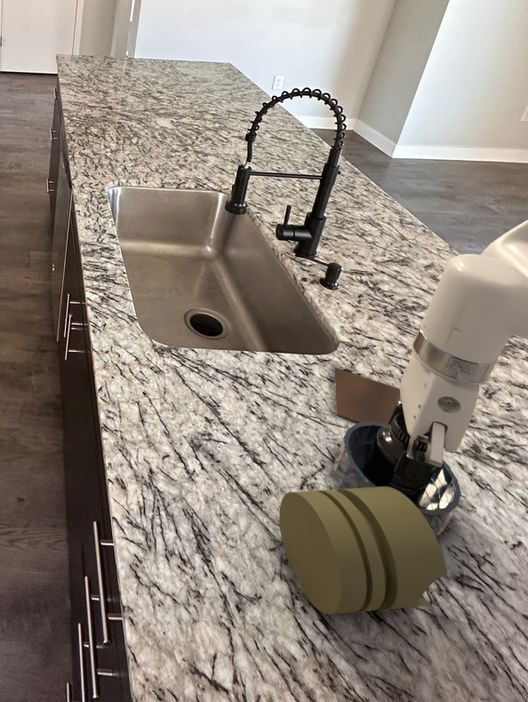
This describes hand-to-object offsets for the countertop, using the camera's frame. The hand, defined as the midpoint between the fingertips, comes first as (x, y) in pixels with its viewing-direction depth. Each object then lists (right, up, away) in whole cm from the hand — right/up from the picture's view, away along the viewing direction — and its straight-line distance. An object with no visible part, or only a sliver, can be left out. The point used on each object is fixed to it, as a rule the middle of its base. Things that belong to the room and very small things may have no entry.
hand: (404, 453), depth 71 cm
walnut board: (+7, -1, +16) cm, 18 cm away
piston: (-12, -11, -7) cm, 18 cm away
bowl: (0, -7, +3) cm, 8 cm away
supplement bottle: (0, -7, +3) cm, 7 cm away
